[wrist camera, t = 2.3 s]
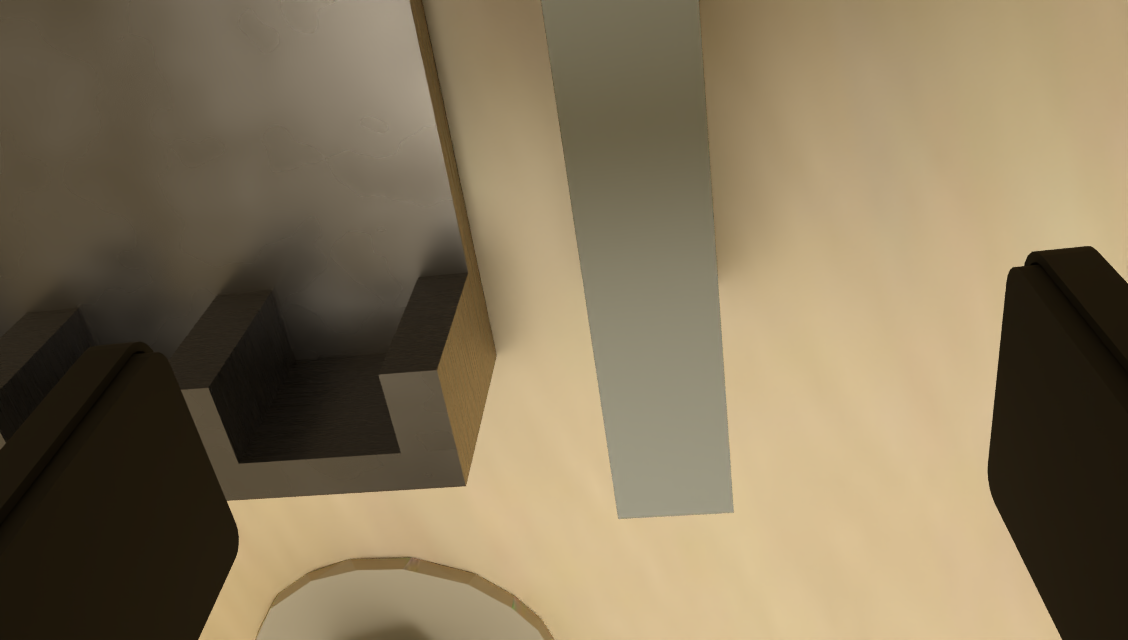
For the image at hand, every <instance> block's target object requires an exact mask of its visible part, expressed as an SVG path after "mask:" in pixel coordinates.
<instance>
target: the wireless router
mask: <svg viewBox="0 0 1128 640" xmlns="http://www.w3.org/2000/svg"><path fill="white" fill-rule="evenodd" d="M255 640H554V639H553V637H552V635H551V634H550V632H549V631H548V629H547V628H546V626H545V624H544V623H543V621H542V620H541V619H540V618H539V617H538V616H537V615H535V614H534V613H533V612H532V611H531V610H530V609H529V608H527V607H526V606H525V605H524V604H523V603H522V602H521V601H520V600H518V599H517V598H516V597H515V596H514V595H512V594H510V593H509V592H507V591H505V590H503V589H501V588H500V587H498V586H496V585H494V584H493V583H491V582H489V581H487V580H486V579H484V578H482V577H480V576H478V575H477V574H474V573H470V572H466V571H463V570H459V569H455V568H451V567H447V566H443V565H439V564H436V563H432V562H428V561H424V560H420V559H416V558H412V557H408V558H372V559H348V560H344V561H341V562H338V563H336V564H333V565H330V566H327V567H324V568H321V569H318V570H315V571H313V572H310V573H307V574H306V575H304V576H303V577H301V578H300V579H298V580H297V581H296V582H294V583H293V584H291V585H290V586H288V587H287V588H286V589H284V590H283V591H281V592H280V593H278V594H277V596H276V598H275V600H274V602H273V604H272V606H271V608H270V610H269V611H268V613H267V615H266V617H265V619H264V621H263V623H262V625H261V627H260V629H259V631H258V634H257V636H256V639H255Z"/></svg>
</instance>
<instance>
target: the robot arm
mask: <svg viewBox="0 0 1128 640" xmlns="http://www.w3.org/2000/svg"><path fill="white" fill-rule="evenodd" d="M988 481H989V487H990V491H991V495H992V498H993V500H994V503H995V505H996V507H997V509H998V511H999V513H1000V515H1001V517H1002V519H1003V521H1004V523H1005V525H1006V527H1007V529H1008V531H1009V533H1010V535H1011V537H1012V539H1013V541H1014V543H1015V545H1016V547H1017V549H1018V551H1019V553H1020V555H1021V557H1022V559H1023V561H1024V563H1025V565H1026V567H1027V569H1028V571H1029V573H1030V575H1031V577H1032V579H1033V581H1034V583H1035V586H1036V588H1037V590H1038V592H1039V594H1040V596H1041V598H1042V600H1043V602H1044V604H1045V606H1046V608H1047V610H1048V612H1049V614H1050V616H1051V618H1052V620H1053V622H1054V624H1055V626H1056V628H1057V630H1058V632H1059V634H1060V636H1061V638H1062V640H1128V283H1127V282H1126V281H1125V280H1124V279H1123V278H1122V277H1121V276H1120V275H1119V274H1118V273H1117V272H1116V270H1115V269H1114V268H1113V267H1112V266H1111V265H1110V264H1109V263H1108V262H1107V261H1106V260H1105V259H1104V258H1103V257H1102V255H1101V254H1100V253H1099V252H1098V251H1097V250H1096V249H1094V248H1093V247H1091V246H1084V247H1074V248H1064V249H1054V250H1045V251H1035V252H1031V253H1030V254H1029V255H1028V257H1027V259H1026V261H1025V265H1024V266H1021V267H1013V268H1012V269H1011V270H1010V271H1009V274H1008V277H1007V282H1006V292H1005V302H1004V312H1003V321H1002V331H1001V341H1000V351H999V361H998V371H997V380H996V390H995V400H994V410H993V420H992V430H991V439H990V449H989V459H988ZM238 545H239V536H238V529H237V526H236V523H235V520H234V518H233V515H232V513H231V511H230V508H229V506H228V503H227V501H226V498H225V496H224V494H223V491H222V489H221V486H220V484H219V481H218V479H217V477H216V474H215V472H214V469H213V467H212V464H211V462H210V460H209V457H208V455H207V452H206V450H205V447H204V445H203V443H202V440H201V438H200V435H199V433H198V430H197V428H196V426H195V423H194V421H193V418H192V416H191V413H190V411H189V409H188V406H187V404H186V401H185V399H184V396H183V394H182V392H181V389H180V387H179V384H178V382H177V379H176V377H175V375H174V372H173V370H172V367H171V365H170V363H169V361H168V359H167V358H166V357H165V356H164V355H163V354H162V353H160V352H153V350H152V349H151V348H150V347H149V346H148V345H147V344H146V343H143V342H141V341H138V342H128V343H118V344H108V345H98V346H92V347H90V348H88V349H87V350H86V351H84V353H83V354H82V355H81V356H80V357H79V358H78V360H77V361H76V362H75V363H74V364H73V365H72V367H71V368H70V369H69V370H68V371H67V372H66V374H65V375H64V376H63V377H62V378H61V379H60V381H59V382H58V383H57V384H56V385H55V386H54V388H53V389H52V390H51V391H50V392H49V393H48V395H47V396H46V397H45V398H44V399H43V400H42V402H41V403H40V404H39V405H38V406H37V407H36V409H35V410H34V411H33V412H32V413H31V414H30V416H29V417H28V418H27V419H26V420H25V421H24V423H23V424H22V425H21V426H20V427H19V428H18V430H17V431H16V432H15V433H14V434H13V435H12V437H11V438H10V439H9V440H8V441H7V442H6V444H5V445H4V446H3V447H2V448H1V449H0V640H198V639H199V637H200V634H201V632H202V630H203V628H204V626H205V624H206V621H207V619H208V617H209V615H210V613H211V611H212V608H213V606H214V604H215V602H216V600H217V597H218V595H219V593H220V591H221V589H222V587H223V584H224V582H225V580H226V578H227V576H228V574H229V571H230V569H231V567H232V565H233V563H234V560H235V558H236V555H237V552H238Z"/></svg>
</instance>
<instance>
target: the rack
mask: <svg viewBox="0 0 1128 640" xmlns="http://www.w3.org/2000/svg"><path fill="white" fill-rule="evenodd" d="M138 341H141V342H143V343H146V344H147V345H148V346H149V347H150V348H151V349H152V350H153V352H160V353H162V354H163V355H164V356H165V357H166V358H167V359H168V361H169V363H170V365H171V367H172V370H173V372H174V375H175V377H176V379H177V382H178V384H179V387H180V389H181V392H182V394H183V396H184V399H185V401H186V404H187V406H188V409H189V411H190V413H191V416H192V418H193V421H194V423H195V426H196V428H197V430H198V433H199V435H200V438H201V440H202V443H203V445H204V447H205V450H206V452H207V455H208V457H209V460H210V462H211V464H212V467H213V469H214V472H215V474H216V477H217V479H218V481H219V484H220V486H221V489H222V491H223V494H224V496H225V498H226V501H230V500H247V499H263V498H280V497H296V496H312V495H329V494H345V493H362V492H378V491H394V490H411V489H427V488H444V487H460V486H466V484H467V479H468V475H469V471H470V467H471V462H472V458H473V454H474V450H475V445H476V441H477V437H478V433H479V428H480V424H481V420H482V416H483V411H484V407H485V403H486V399H487V394H488V390H489V386H490V382H491V377H492V373H493V369H494V365H495V360H496V351H495V347H494V342H493V337H492V332H491V327H490V323H489V318H488V313H487V308H486V304H485V299H484V294H483V289H482V285H481V280H480V275H479V270H478V266H477V261H476V256H475V251H474V247H473V242H472V237H471V232H470V228H469V223H468V218H467V213H466V209H465V204H464V199H463V194H462V190H461V185H460V180H459V175H458V171H457V166H456V161H455V156H454V152H453V147H452V142H451V137H450V132H449V128H448V123H447V118H446V113H445V109H444V104H443V99H442V94H441V90H440V85H439V80H438V75H437V71H436V66H435V61H434V56H433V52H432V47H431V42H430V37H429V33H428V28H427V23H426V18H425V14H424V9H423V4H422V0H0V449H1V448H2V447H3V446H4V445H5V444H6V442H7V441H8V440H9V439H10V438H11V437H12V435H13V434H14V433H15V432H16V431H17V430H18V428H19V427H20V426H21V425H22V424H23V423H24V421H25V420H26V419H27V418H28V417H29V416H30V414H31V413H32V412H33V411H34V410H35V409H36V407H37V406H38V405H39V404H40V403H41V402H42V400H43V399H44V398H45V397H46V396H47V395H48V393H49V392H50V391H51V390H52V389H53V388H54V386H55V385H56V384H57V383H58V382H59V381H60V379H61V378H62V377H63V376H64V375H65V374H66V372H67V371H68V370H69V369H70V368H71V367H72V365H73V364H74V363H75V362H76V361H77V360H78V358H79V357H80V356H81V355H82V354H83V353H84V351H86V350H87V349H88V348H90V347H92V346H98V345H108V344H118V343H128V342H138Z"/></svg>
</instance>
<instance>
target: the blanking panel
mask: <svg viewBox="0 0 1128 640" xmlns="http://www.w3.org/2000/svg"><path fill="white" fill-rule="evenodd" d="M541 4H542V11H543V18H544V24H545V31H546V38H547V44H548V51H549V58H550V65H551V71H552V78H553V85H554V91H555V98H556V105H557V112H558V118H559V125H560V132H561V138H562V145H563V152H564V158H565V165H566V172H567V179H568V185H569V192H570V199H571V205H572V212H573V219H574V225H575V232H576V239H577V246H578V252H579V259H580V266H581V272H582V279H583V286H584V293H585V299H586V306H587V313H588V319H589V326H590V333H591V339H592V346H593V353H594V360H595V366H596V373H597V380H598V386H599V393H600V400H601V407H602V413H603V420H604V427H605V433H606V440H607V447H608V453H609V460H610V467H611V474H612V480H613V487H614V494H615V500H616V507H617V514H618V519H627V518H646V517H664V516H682V515H700V514H719V513H734V509H733V494H732V480H731V465H730V450H729V436H728V421H727V406H726V392H725V377H724V362H723V347H722V333H721V318H720V303H719V289H718V274H717V259H716V245H715V230H714V215H713V201H712V186H711V171H710V157H709V142H708V127H707V112H706V98H705V83H704V68H703V54H702V39H701V24H700V10H699V0H541Z"/></svg>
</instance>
